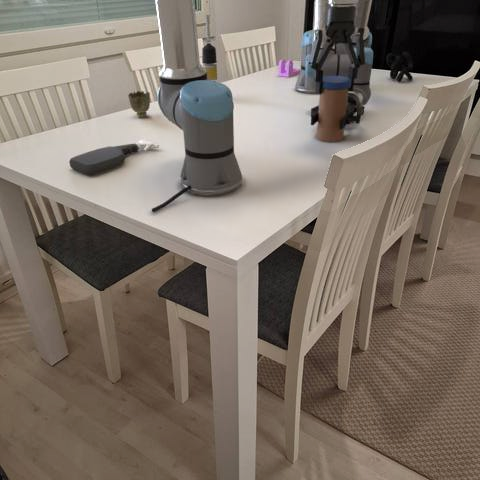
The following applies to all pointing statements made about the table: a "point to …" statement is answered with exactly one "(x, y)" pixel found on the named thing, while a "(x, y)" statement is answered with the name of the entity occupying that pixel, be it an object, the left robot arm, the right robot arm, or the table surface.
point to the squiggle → (399, 66)
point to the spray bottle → (106, 157)
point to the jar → (331, 114)
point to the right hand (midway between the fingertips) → (326, 122)
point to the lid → (336, 82)
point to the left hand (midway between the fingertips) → (334, 91)
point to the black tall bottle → (209, 56)
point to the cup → (140, 102)
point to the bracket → (287, 69)
